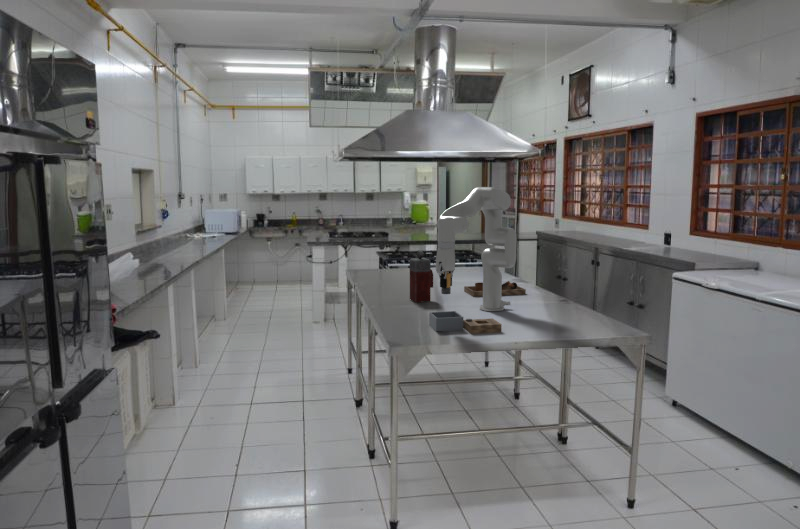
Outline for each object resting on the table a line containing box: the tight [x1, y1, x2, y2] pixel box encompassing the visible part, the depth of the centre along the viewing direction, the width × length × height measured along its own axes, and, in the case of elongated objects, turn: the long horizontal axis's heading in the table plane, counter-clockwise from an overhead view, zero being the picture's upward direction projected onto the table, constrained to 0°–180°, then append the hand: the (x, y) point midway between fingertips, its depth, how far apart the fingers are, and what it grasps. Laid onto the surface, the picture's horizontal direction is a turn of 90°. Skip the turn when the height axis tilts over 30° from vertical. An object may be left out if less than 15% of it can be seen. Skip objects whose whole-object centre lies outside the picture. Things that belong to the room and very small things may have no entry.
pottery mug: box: [502, 280, 518, 290], centre depth 336 cm, size 12×10×8 cm
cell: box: [440, 272, 452, 295], centre depth 252 cm, size 4×4×10 cm
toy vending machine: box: [409, 250, 434, 303], centre depth 314 cm, size 9×11×28 cm
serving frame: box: [463, 285, 527, 298], centre depth 336 cm, size 32×17×3 cm, turn 101°
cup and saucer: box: [473, 282, 483, 291], centre depth 334 cm, size 12×12×6 cm
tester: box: [463, 318, 502, 335], centre depth 250 cm, size 14×11×4 cm
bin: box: [428, 310, 464, 332], centre depth 254 cm, size 12×12×6 cm
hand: (446, 286), depth 252 cm, fingers closed on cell, 4 cm apart
